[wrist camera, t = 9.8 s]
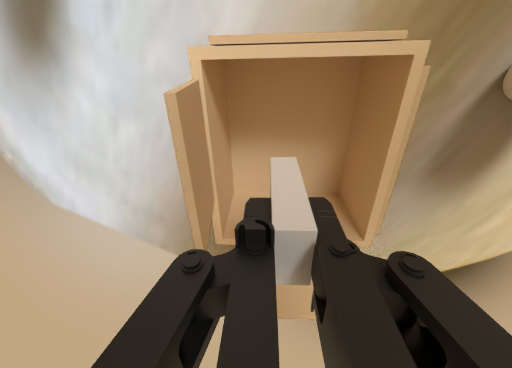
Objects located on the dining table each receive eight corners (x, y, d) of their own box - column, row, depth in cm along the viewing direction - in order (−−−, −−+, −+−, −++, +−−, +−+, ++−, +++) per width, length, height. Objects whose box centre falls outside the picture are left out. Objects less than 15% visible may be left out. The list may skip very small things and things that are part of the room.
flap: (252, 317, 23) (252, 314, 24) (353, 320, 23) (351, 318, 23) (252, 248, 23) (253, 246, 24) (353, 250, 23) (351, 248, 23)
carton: (215, 43, 24) (185, 36, 15) (378, 39, 23) (444, 28, 14) (229, 194, 33) (215, 244, 24) (347, 195, 32) (376, 247, 23)
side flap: (175, 93, 10) (163, 93, 10) (205, 259, 15) (197, 260, 15) (198, 79, 16) (191, 79, 16) (214, 200, 21) (208, 200, 21)
